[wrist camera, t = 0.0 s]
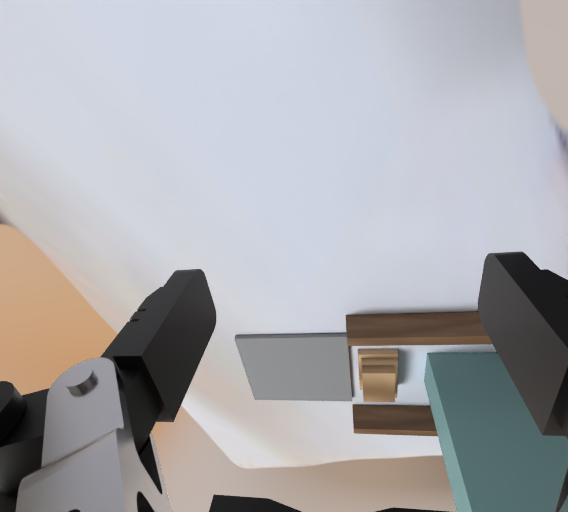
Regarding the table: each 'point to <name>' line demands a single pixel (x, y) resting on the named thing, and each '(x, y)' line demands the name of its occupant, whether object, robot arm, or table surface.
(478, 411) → the teal panel
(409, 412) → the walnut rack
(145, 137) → the table surface
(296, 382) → the slate mat
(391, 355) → the offcut stack
